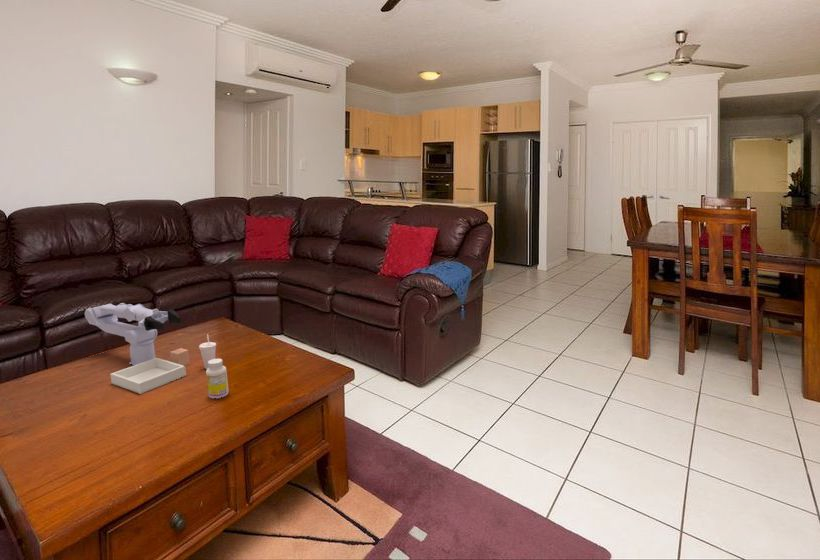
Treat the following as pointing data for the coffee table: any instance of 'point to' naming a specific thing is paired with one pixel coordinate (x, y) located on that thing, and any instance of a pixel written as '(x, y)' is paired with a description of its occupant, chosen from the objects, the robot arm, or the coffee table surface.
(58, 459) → the coffee table surface
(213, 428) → the coffee table surface
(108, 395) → the coffee table surface
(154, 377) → the tray
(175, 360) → the brown cube block
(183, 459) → the coffee table surface
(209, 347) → the smoothie
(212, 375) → the supplement bottle
